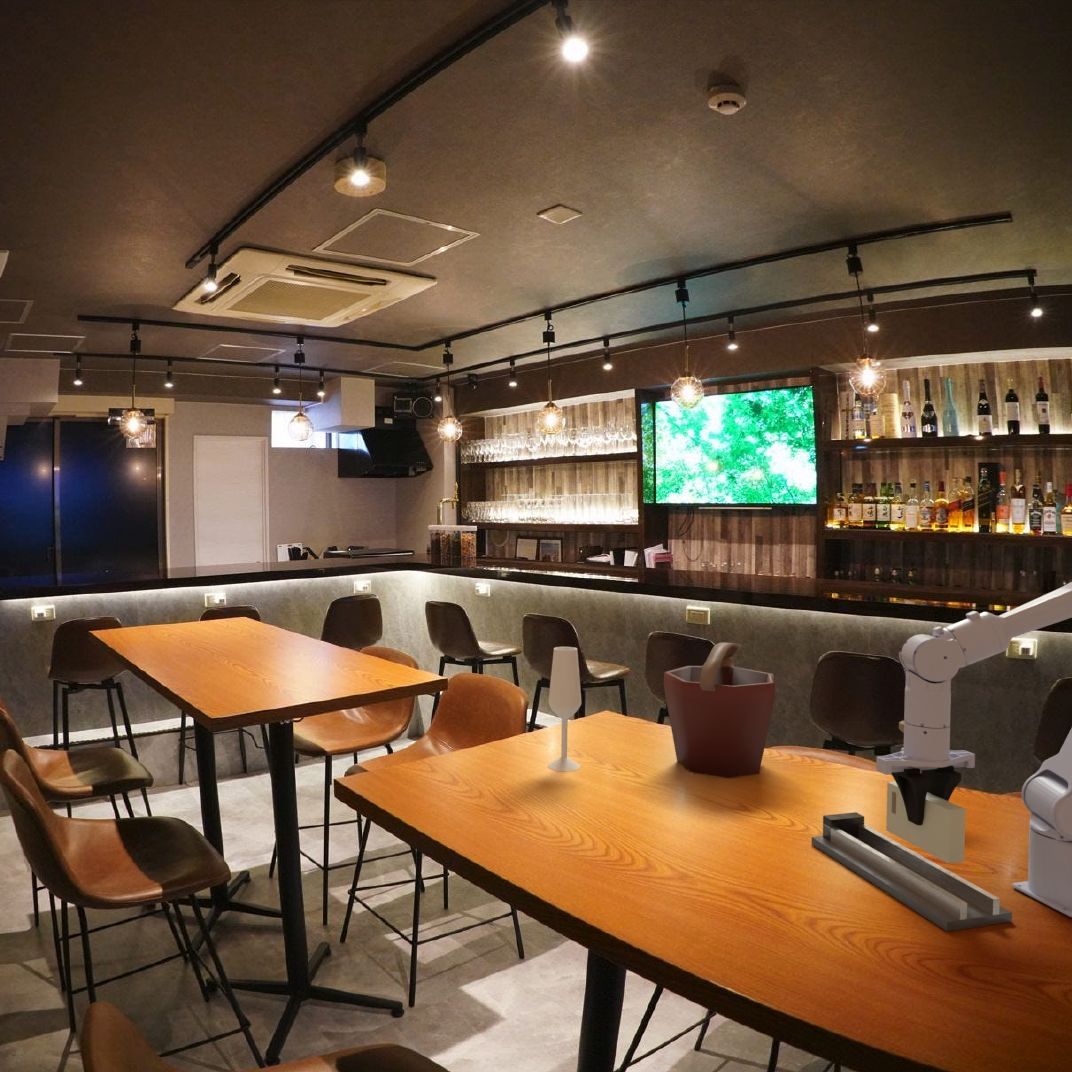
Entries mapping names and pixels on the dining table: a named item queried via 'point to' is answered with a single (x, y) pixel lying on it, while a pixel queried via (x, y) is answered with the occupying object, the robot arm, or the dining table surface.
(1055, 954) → the dining table surface
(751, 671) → the bucket
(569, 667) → the champagne flute
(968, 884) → the rail
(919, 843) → the door panel
